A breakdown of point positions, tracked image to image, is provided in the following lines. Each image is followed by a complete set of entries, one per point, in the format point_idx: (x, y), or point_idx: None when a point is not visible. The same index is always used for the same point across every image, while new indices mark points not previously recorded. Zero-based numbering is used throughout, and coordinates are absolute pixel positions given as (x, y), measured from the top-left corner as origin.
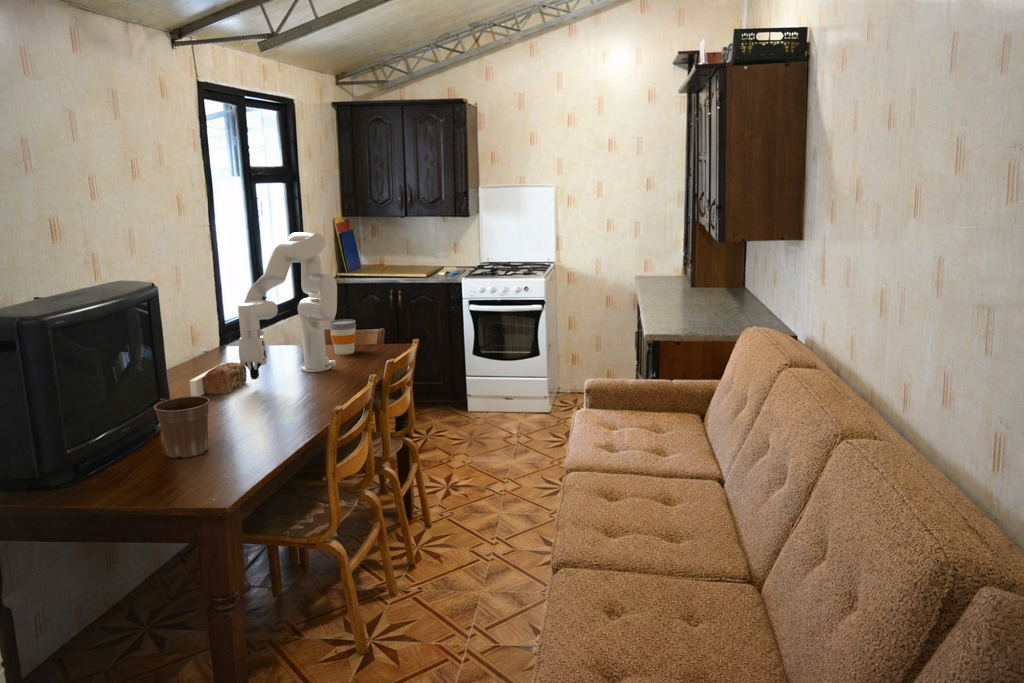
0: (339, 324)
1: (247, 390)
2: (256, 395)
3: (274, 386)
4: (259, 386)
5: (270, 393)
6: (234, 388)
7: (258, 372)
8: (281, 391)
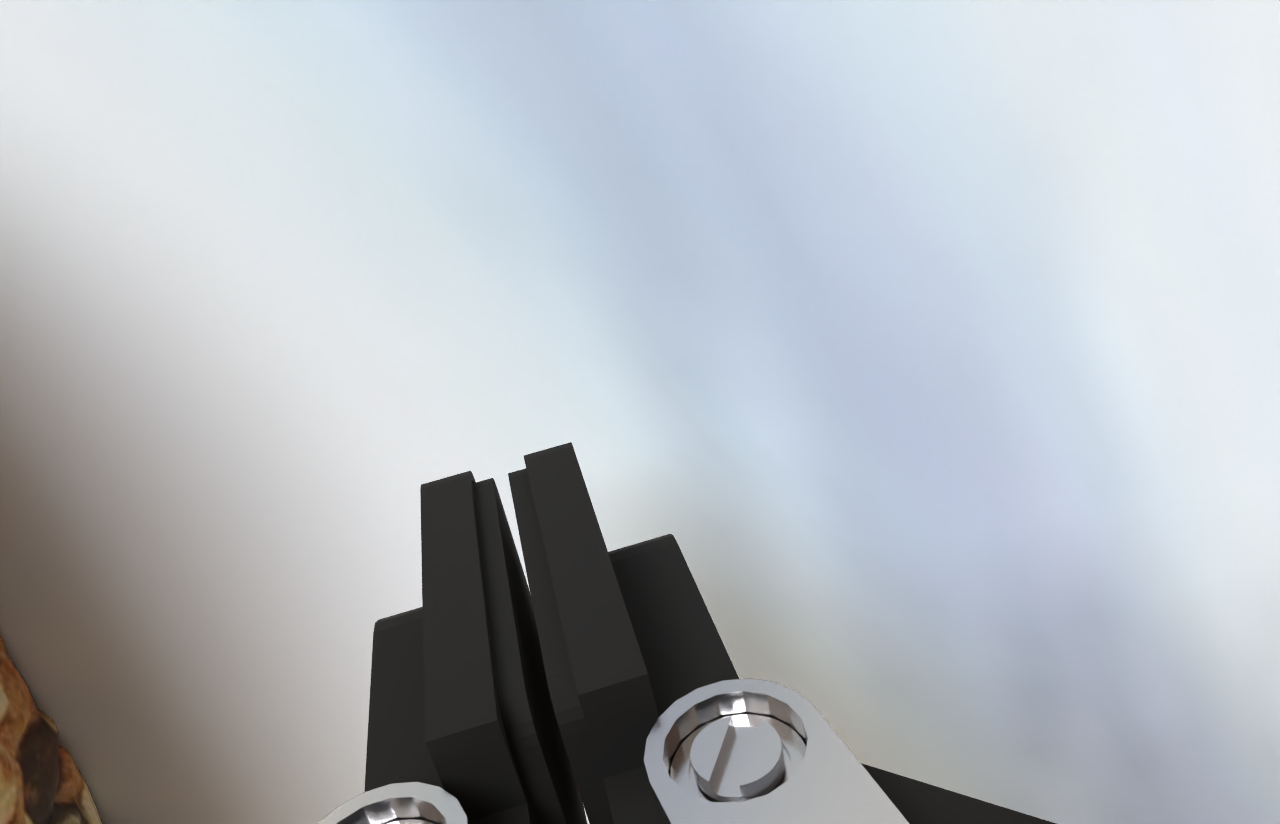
0: None
1: None
2: None
3: (899, 108)
4: (461, 227)
5: (1072, 628)
6: (54, 769)
7: (713, 636)
8: (1242, 445)
